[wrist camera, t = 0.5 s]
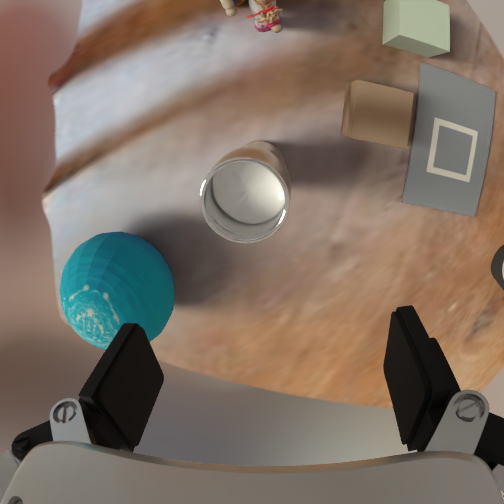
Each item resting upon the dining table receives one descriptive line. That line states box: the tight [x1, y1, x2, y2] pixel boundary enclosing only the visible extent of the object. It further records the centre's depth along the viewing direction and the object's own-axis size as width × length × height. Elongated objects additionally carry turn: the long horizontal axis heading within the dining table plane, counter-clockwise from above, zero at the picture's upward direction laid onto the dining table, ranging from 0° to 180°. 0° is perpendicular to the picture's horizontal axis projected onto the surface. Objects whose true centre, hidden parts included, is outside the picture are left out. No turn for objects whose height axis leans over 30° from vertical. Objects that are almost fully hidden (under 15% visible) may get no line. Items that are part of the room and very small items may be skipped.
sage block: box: [382, 0, 450, 58], centre depth 24 cm, size 6×6×6 cm
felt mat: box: [401, 62, 496, 217], centre depth 31 cm, size 18×12×1 cm, turn 176°
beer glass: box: [200, 141, 291, 244], centre depth 29 cm, size 7×7×15 cm
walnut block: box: [341, 80, 414, 149], centre depth 29 cm, size 6×6×6 cm
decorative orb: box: [60, 232, 175, 350], centre depth 37 cm, size 15×15×15 cm
